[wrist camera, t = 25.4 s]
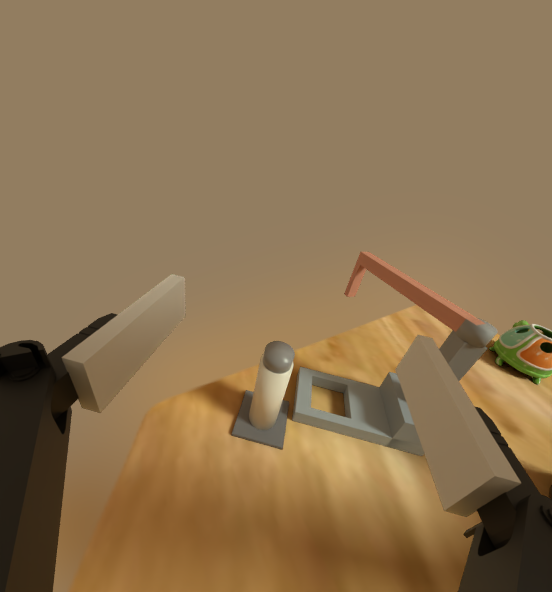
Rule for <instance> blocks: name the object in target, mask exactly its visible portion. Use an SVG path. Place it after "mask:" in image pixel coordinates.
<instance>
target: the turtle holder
mask: <svg viewBox="0 0 552 592" xmlns="http://www.w3.org/2000/svg"><path fill="white" fill-rule="evenodd" d="M536 329H540V330H542V331H543V333H539V332H538V331H537V330H536ZM489 349H490V350H491V351H496V353H497V354H498V355H499V356H498V357H497V358H496V360H495V362H496V364H497V365H499V366H502V364H503V361H506V362H507V363H508V364H509V365H511V366H512V367H514V368H515V369H517V370H519V371H521V372H523V373H525V374H527V375H530V376H532V377H533V378H532V380H533V382H534V383H535V384H537V385H539V384H540V381H541V378H547V377H549V376H551V374H552V331H551V330H549V329H547V328H545V327H542V326H540V325H537V324H531V325H529V324H528V323H527V322H526V321H523V320H522V321H519V322H518V323H515V324H514V325H513V328H511V329H510V330H508V331H506V332H504V333H503V334H502V335H501V336H500V338H499V339H498V340H497V341H496V342H495V343H494V347H490V348H489Z"/></svg>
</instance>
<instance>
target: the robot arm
mask: <svg viewBox="0 0 552 592" xmlns="http://www.w3.org/2000/svg"><path fill="white" fill-rule="evenodd" d="M185 315H186V313H185V277H181V276H177V275H173V274H171V275H170V276H169V277H167V278H166V279H165V280H163V281H162V282H161V283H159V284H158V285H157V286H156V287H154V288H153V289H152V290H150V291H149V292H148V293H146V294H145V295H144V296H142V297H141V298H140V299H138V300H137V301H136V302H134V303H133V304H132V305H130V306H129V307H128V308H126V309H125V310H124V311H122V312H121V313H120V314H119V315H116V314H113V313H111V314H109V315H106V316H104V317H101V318H98V319H97V320H96V321H94V322H93V323H91V324H90V325H89V326H88V327H86V328H85V329H83V330H81V331H80V332H79V334H76V335H74V336H73V337H72V338H70V339H69V340H67V341H66V342H65V343H63V344H62V345H60V346H59V347H57V348H56V349H55V350H53V351H52V352H50V353H49V354H48V355H47V353H46V351H45V348H44V346H43V344H41V343H40V342H38V341H33V340H26V341H18V342H14V343H10V344H7V345H5V346H3V347H0V592H53V583H54V572H55V564H56V553H57V545H58V536H59V527H60V517H61V508H62V498H63V489H64V480H65V470H66V460H67V452H68V442H69V433H70V423H71V414H72V410H71V405H72V404H73V403H74V402H75V401H76V400H77V399H79V402H80V404H81V407H82V408H84V409H88V410H91V411H95V412H98V413H101V412H102V411H103V410H104V408H105V407H106V406H107V405H108V404H109V403H110V402H111V401H112V399H113V398H114V397H115V396H116V395H117V394H118V393H119V391H120V390H121V389H122V388H123V387H124V386H125V385H126V383H127V382H128V381H129V380H130V379H131V378H132V377H133V375H134V374H135V373H136V372H137V371H138V370H139V369H140V367H141V366H142V365H143V364H144V363H145V362H146V361H147V360H148V358H149V357H150V356H151V355H152V354H153V353H154V351H155V350H156V349H157V348H158V347H159V346H160V345H161V343H162V342H163V341H164V340H165V339H166V338H167V337H168V336H169V334H170V333H171V332H172V331H173V330H174V329H175V328H176V326H177V325H178V324H179V323H180V322H181V321H182V320H183V318H184V317H185ZM395 370H396V373H397V376H398V379H399V382H400V385H401V388H402V390H403V393H404V396H405V399H406V402H407V405H408V408H409V411H410V413H411V416H412V419H413V422H414V425H415V428H416V431H417V434H418V436H419V439H420V442H421V445H422V448H423V451H424V454H425V457H426V460H427V462H428V465H429V468H430V471H431V474H432V477H433V480H434V483H435V485H436V488H437V491H438V494H439V497H440V500H441V503H442V506H443V508H444V511H447V512H450V513H454V514H457V515H461V516H464V517H467V516H469V515H470V514H472V513H474V512H475V511H478V513H479V516H480V518H481V520H482V522H481V523H479V524H477V525H475V526H474V527H472V528H470V529H468V530H466V532H465V533H464V534H463V535H464V536H465V537H466V538H468V537H470V536H472V535H474V538H473V541H472V545H471V548H470V552H469V555H468V559H467V562H466V566H465V569H464V573H463V576H462V580H461V583H460V587H459V590H458V592H552V485H551V488H550V498H551V499H550V498H548V497H546V496H543V495H541V494H540V493H539V491H538V490H537V488H536V487H535V485H534V484H533V482H532V481H531V479H530V478H529V476H528V474H527V473H526V471H525V470H524V468H523V467H522V465H521V464H520V462H519V461H518V459H517V458H516V456H515V454H514V453H513V451H512V450H511V448H509V447H508V444H507V442H506V441H505V439H504V438H503V437H502V436H501V433H500V431H499V430H498V428H497V427H496V425H495V424H494V422H493V421H492V420H491V419H490V418H489V417H488V416H487V415H486V414H485V413H484V411H483V410H482V409H481V408H478V407H474V405H473V404H472V402H471V400H470V399H469V397H468V396H467V394H466V392H465V391H464V389H463V387H462V386H461V384H460V383H459V381H458V379H457V378H456V376H455V374H454V373H453V371H452V370H451V368H450V366H449V365H448V363H447V361H446V360H445V358H444V357H443V355H442V353H441V352H440V350H439V348H438V347H437V345H436V344H435V342H434V340H433V339H432V338H429V337H425V336H421V335H417V337H416V338H415V340H414V341H413V343H412V344H411V346H410V348H409V349H408V351H407V352H406V354H405V355H404V357H403V358H402V360H401V362H400V363H399V365H398V366H397V368H396V369H395Z"/></svg>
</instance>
